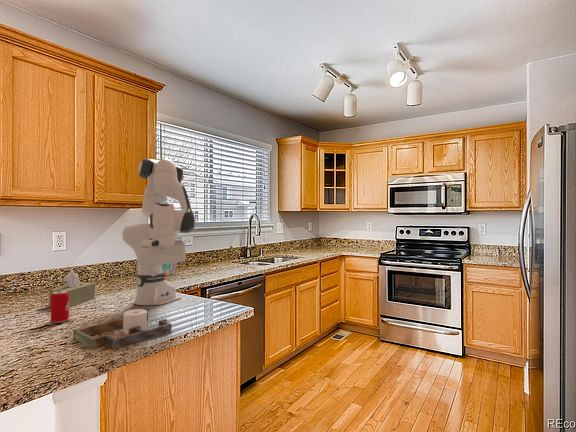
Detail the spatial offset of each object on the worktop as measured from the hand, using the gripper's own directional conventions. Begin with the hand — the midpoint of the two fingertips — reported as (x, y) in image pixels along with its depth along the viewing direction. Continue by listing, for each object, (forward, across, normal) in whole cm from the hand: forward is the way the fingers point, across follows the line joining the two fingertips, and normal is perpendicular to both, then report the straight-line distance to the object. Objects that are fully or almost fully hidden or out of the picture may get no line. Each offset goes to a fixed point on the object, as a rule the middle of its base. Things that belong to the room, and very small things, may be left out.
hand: (163, 274), depth 144 cm
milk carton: (+19, -65, -92) cm, 114 cm away
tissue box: (+20, +10, -59) cm, 63 cm away
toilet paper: (+20, +11, 0) cm, 22 cm away
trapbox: (+19, +17, +3) cm, 26 cm away
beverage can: (+20, +26, -32) cm, 46 cm away
